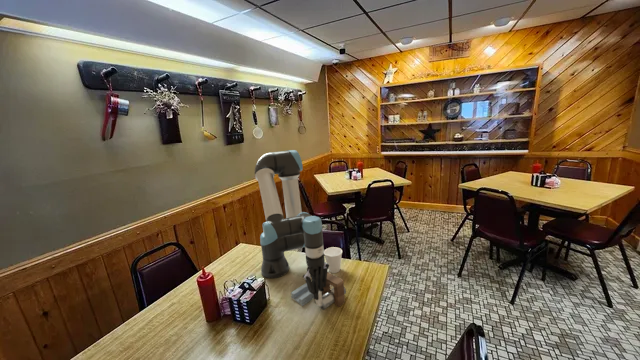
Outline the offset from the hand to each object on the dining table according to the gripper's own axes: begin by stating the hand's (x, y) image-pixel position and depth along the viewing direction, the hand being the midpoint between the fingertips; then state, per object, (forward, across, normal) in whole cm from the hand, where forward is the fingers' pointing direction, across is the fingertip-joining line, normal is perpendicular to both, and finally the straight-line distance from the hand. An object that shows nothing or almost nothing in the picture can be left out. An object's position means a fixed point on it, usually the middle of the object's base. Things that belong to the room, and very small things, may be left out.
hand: (319, 304), depth 108 cm
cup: (+3, +25, +15) cm, 29 cm away
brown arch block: (+2, +8, 0) cm, 9 cm away
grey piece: (0, +7, -1) cm, 7 cm away
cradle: (+2, +1, +11) cm, 11 cm away
